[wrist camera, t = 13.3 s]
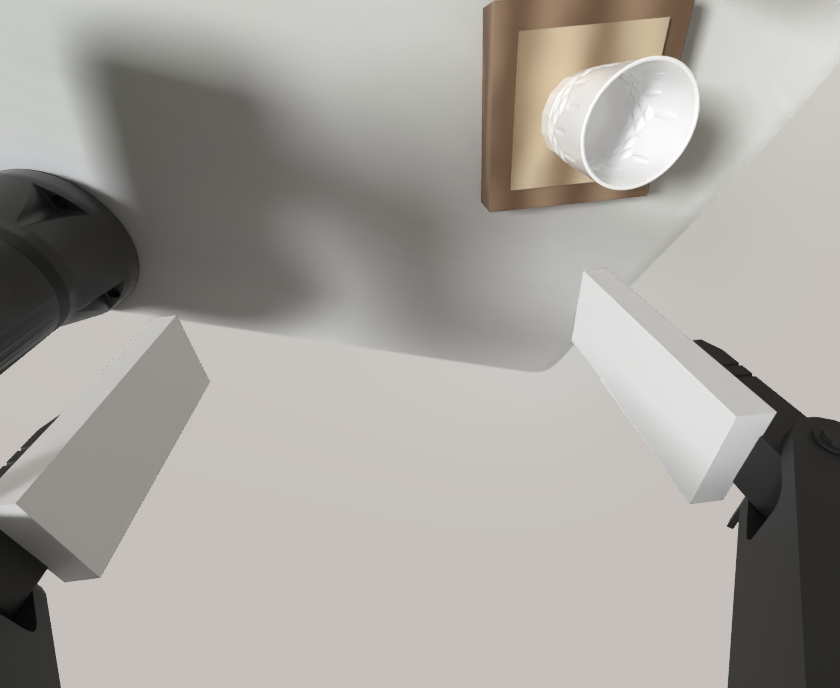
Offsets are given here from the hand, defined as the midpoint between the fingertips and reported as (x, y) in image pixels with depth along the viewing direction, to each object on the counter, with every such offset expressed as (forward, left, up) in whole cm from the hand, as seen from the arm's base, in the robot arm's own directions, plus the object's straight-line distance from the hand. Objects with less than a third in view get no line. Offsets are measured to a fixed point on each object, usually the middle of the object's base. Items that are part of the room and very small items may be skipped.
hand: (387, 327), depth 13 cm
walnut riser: (+18, +3, -32) cm, 37 cm away
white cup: (+18, +3, -27) cm, 33 cm away
